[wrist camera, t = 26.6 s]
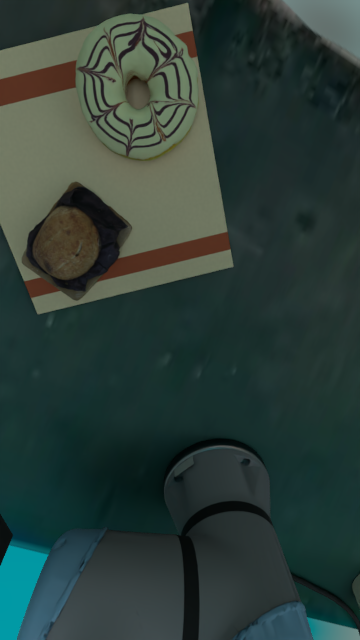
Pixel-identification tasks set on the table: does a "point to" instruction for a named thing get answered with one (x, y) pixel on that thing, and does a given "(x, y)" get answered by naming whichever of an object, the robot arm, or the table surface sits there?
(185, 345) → the table surface
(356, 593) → the reusable coffee cup
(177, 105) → the decorated donut
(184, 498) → the robot arm
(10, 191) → the towel
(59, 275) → the bread roll
